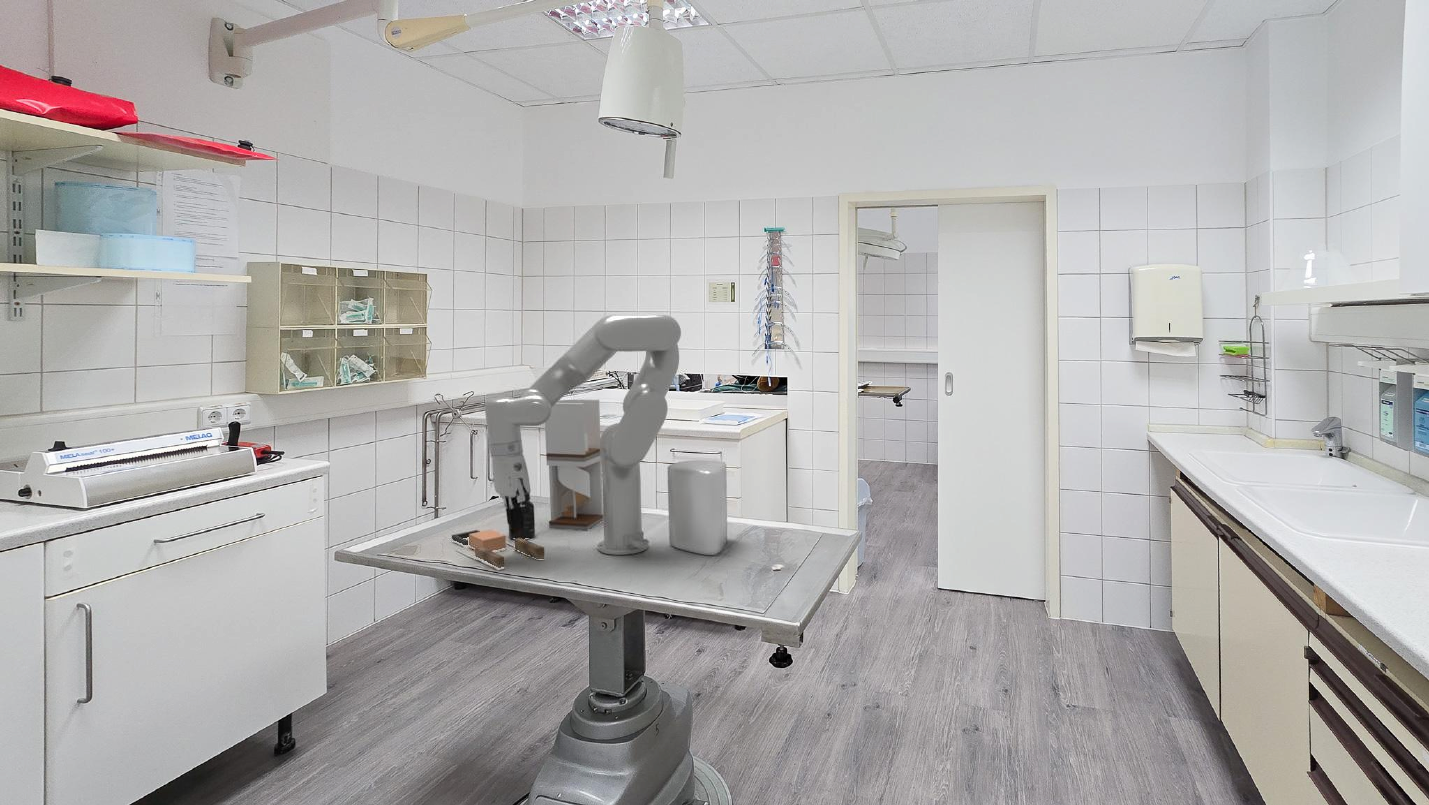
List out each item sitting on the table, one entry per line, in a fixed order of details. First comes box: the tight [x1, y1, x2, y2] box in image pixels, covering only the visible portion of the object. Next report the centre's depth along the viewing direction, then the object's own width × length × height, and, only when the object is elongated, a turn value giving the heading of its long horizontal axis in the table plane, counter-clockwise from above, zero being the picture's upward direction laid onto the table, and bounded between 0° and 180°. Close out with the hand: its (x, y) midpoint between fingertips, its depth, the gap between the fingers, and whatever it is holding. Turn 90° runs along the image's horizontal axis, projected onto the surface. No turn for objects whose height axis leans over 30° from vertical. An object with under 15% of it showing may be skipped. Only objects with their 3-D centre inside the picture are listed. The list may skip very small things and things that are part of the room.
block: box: [469, 529, 507, 551], centre depth 200 cm, size 8×6×4 cm
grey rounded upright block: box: [667, 459, 728, 556], centre depth 198 cm, size 15×14×22 cm
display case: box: [544, 398, 604, 532], centre depth 220 cm, size 11×11×35 cm
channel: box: [474, 538, 546, 568], centre depth 191 cm, size 12×12×3 cm
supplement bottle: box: [508, 492, 536, 539], centre depth 210 cm, size 7×7×12 cm
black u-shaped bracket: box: [451, 529, 481, 545], centre depth 207 cm, size 8×7×2 cm
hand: (515, 523), depth 191 cm, fingers closed
